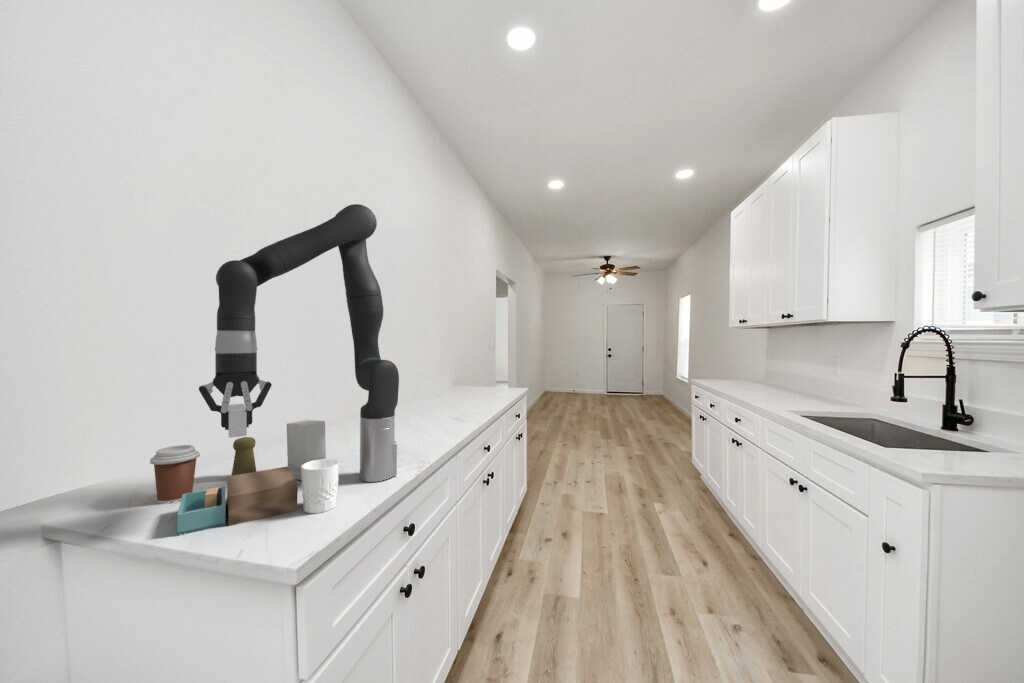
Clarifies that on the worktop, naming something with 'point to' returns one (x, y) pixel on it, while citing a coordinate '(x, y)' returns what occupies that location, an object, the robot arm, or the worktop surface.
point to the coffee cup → (174, 472)
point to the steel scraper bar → (237, 420)
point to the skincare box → (305, 444)
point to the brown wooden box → (261, 495)
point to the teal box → (200, 512)
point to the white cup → (320, 485)
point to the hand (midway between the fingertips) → (236, 427)
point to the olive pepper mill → (244, 456)
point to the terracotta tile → (212, 497)
